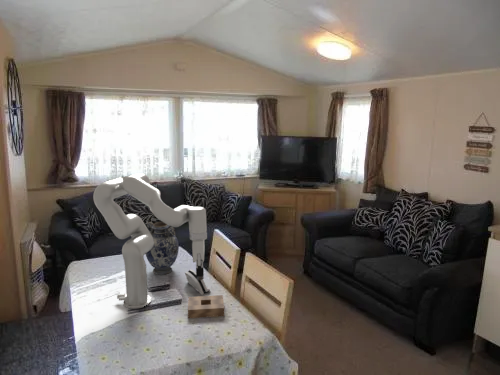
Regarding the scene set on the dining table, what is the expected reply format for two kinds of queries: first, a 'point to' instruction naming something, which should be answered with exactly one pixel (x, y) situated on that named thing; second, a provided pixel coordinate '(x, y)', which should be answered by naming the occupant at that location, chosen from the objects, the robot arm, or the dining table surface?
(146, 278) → the robot arm
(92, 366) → the dining table surface
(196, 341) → the dining table surface
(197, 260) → the pin
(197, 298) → the block with square hole
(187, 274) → the grey half-round piece
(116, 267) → the dining table surface
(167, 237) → the decorative vase
